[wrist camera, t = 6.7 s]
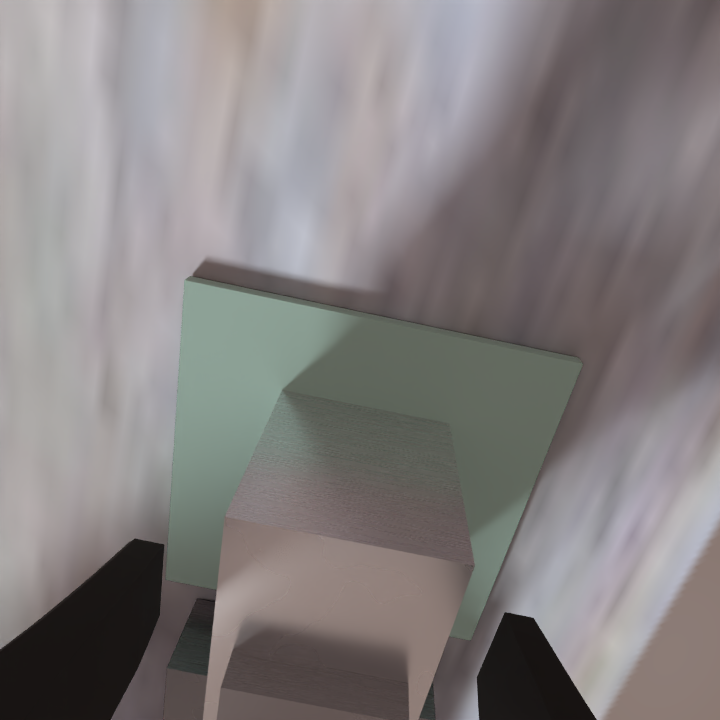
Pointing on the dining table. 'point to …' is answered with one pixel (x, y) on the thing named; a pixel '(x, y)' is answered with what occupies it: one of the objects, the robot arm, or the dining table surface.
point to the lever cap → (338, 567)
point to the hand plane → (192, 669)
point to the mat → (360, 387)
